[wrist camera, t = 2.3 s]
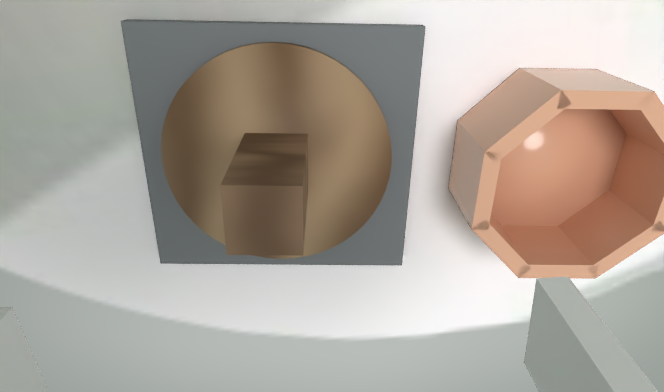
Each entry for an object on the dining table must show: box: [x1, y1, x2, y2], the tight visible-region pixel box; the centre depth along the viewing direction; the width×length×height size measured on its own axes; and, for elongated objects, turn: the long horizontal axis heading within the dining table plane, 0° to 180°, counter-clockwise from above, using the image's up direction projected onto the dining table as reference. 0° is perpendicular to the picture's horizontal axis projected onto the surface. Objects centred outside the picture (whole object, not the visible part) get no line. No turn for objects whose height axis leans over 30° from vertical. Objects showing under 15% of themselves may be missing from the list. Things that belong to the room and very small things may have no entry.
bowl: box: [448, 68, 664, 278], centre depth 31 cm, size 12×12×6 cm
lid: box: [161, 42, 392, 259], centre depth 28 cm, size 15×15×9 cm
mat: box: [121, 19, 425, 265], centre depth 32 cm, size 18×17×1 cm
